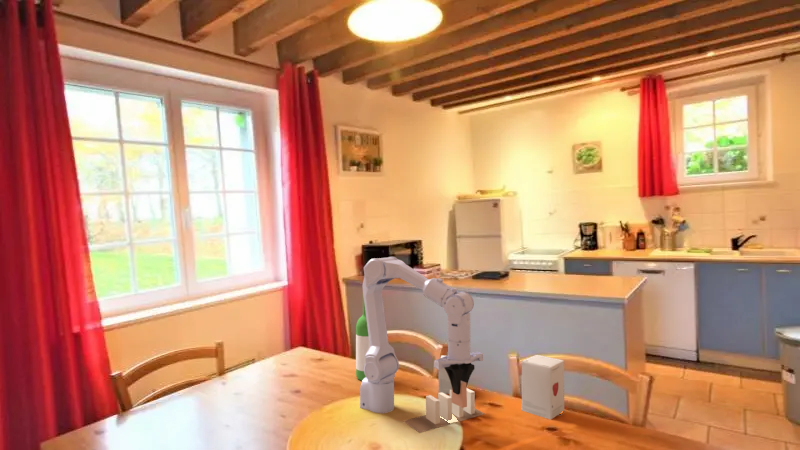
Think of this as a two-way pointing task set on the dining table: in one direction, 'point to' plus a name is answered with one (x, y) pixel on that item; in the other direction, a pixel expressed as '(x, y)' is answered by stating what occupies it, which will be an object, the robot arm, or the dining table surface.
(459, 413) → the domino
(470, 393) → the domino
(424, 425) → the board
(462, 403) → the domino
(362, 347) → the wine bottle
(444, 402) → the domino
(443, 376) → the small box
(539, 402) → the supplement box
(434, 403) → the domino
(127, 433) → the dining table surface
